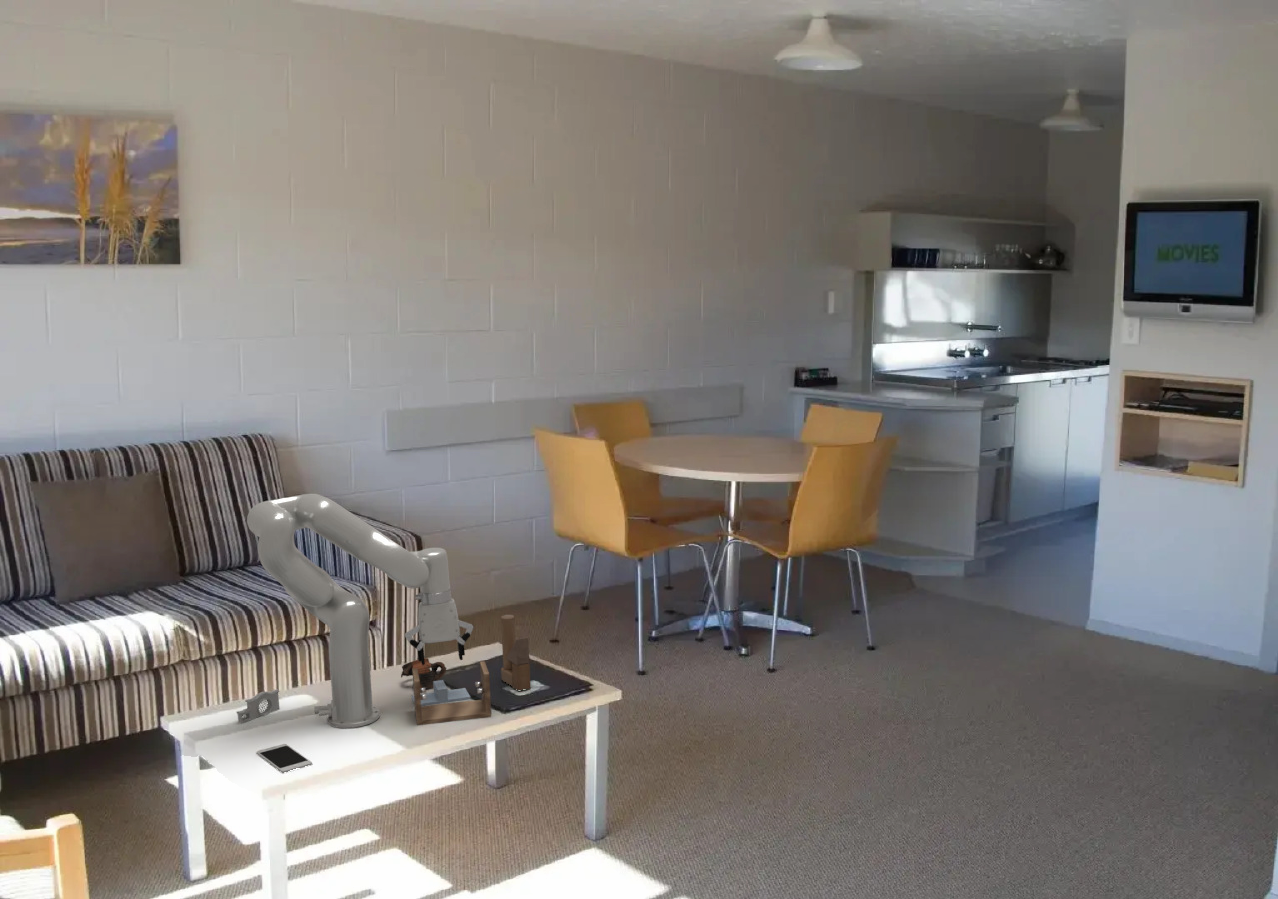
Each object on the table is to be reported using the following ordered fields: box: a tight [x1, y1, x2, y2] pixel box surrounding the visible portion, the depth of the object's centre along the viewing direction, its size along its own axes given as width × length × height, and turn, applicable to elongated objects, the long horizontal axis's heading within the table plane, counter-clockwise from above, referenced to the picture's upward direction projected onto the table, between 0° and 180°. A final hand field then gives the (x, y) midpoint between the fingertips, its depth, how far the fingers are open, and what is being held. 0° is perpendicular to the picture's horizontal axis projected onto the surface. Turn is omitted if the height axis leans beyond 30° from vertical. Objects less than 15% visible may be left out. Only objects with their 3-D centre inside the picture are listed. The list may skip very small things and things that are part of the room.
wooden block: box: [500, 614, 531, 691], centre depth 321 cm, size 4×11×18 cm, turn 31°
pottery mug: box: [400, 657, 447, 689], centre depth 325 cm, size 12×10×8 cm
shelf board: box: [411, 679, 471, 706], centre depth 314 cm, size 14×7×4 cm, turn 109°
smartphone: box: [256, 743, 313, 774], centre depth 278 cm, size 7×15×1 cm, turn 39°
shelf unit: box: [412, 660, 492, 726], centre depth 302 cm, size 18×10×11 cm, turn 103°
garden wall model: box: [236, 688, 280, 724], centre depth 305 cm, size 12×2×6 cm, turn 144°
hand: (442, 660), depth 313 cm, fingers open, 9 cm apart
